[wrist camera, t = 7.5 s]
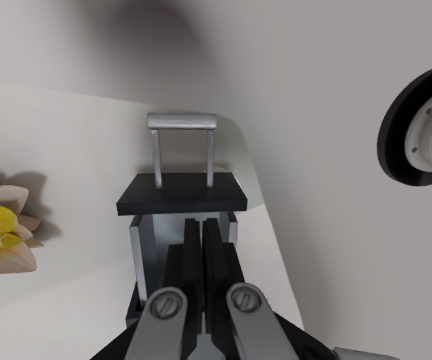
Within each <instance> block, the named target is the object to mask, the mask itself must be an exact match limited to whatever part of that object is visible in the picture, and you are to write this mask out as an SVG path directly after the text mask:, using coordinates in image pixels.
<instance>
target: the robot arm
mask: <svg viewBox="0 0 432 360" xmlns="http://www.w3.org/2000/svg"><path fill="white" fill-rule="evenodd" d="M403 150H404V155H405V157H406V159H407V161H408V162H409V164H410V165H411V166H413V167H414V168H416V169H419V170H422V171H427V172H432V96H431V97H430V98H429V99H427V100H426V101H425V102H424V103H423V104H422V105H421V106H420V107H419V109H418V110H417V111H416V113H415V114H414V115H413V117H412V118H411V120H410V122H409V124H408V126H407V129H406V132H405V136H404V141H403ZM203 297H204V313H205V329H206V334H211V343H214V346H215V347H216V348H217V349H218V350H220V351H221V352H222V360H400V359H398V358H395V357H392V356H387V355H380V354H375V353H368V352H363V351H357V350H350V349H345V348H338V347H335V348H334V350H330V349H328V348H327V347H326V346H325V345H324V344H322V343H321V342H319V341H318V340H316V339H315V338H313V337H312V336H310V335H309V334H307V333H306V332H304V331H303V330H301V329H300V328H298V327H297V326H295V325H294V324H292V323H291V322H289V321H288V320H286V319H284V318H283V317H281V316H280V315H278V314H277V313H275V312H274V311H272V309H271V307H270V305H269V303H268V301H267V300H266V298H265V296H264V294H263V293H262V292H261V290H260V289H259V288H257V287H256V286H254V285H252V284H250V283H245V280H244V277H243V273H242V270H241V266H240V263H239V260H238V256H237V253H236V250H235V246H234V243H233V242H222V238H221V233H220V229H219V224H218V220H217V218H207V219H206V221H203V223H202V252H201V236H200V221H195V218H185V226H184V244H169V247H168V253H167V260H166V266H165V272H164V279H163V285H162V288H161V289H159V290H157V291H155V292H154V293H153V294H152V295H151V296H150V297H149V299H148V301H147V302H146V305H145V307H144V310H143V313H142V315H141V317H140V318H139V319H138V320H137V321H136V322H134V323H133V324H132V325H131V326H130V327H128V328H127V329H126V330H125V331H124V332H122V333H121V334H120V335H119V336H118V337H116V338H115V339H114V340H113V341H111V342H110V343H109V344H108V345H107V346H105V347H104V348H103V349H102V350H101V351H99V352H98V353H97V354H96V355H95V356H93V357H92V358H91V359H90V360H188V357H189V356H190V355H191V353H192V352H193V351H194V350H195V349H196V347H197V335H201V334H202V308H203Z"/></svg>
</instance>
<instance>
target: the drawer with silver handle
mask: <svg viewBox="0 0 432 360" xmlns="http://www.w3.org/2000/svg"><path fill="white" fill-rule="evenodd" d="M147 124H148V128H149V129H152V130H151V134H152V146H153V158H154V170H155V173H144V174H137V175H136V177H135V178H134V179H133V181H132V182H131V184H130V185H129V186H128V188H127V189H126V191H125V192H124V193H123V195H122V196H121V198H120V199H119V200H118V202H117V203H116V205H117V211H118V216H124V215H135V216H134V218H133V220H132V223H131V225H130V227H129V229H130V236H131V243H132V250H133V257H134V264H135V271H136V278H137V285H138V292H139V299H140V306H141V311H143V310H144V307H145V305H146V302H147V301H148V299H149V297H150V296H151V295H152V294H153V293H154V292H155V291H157V290H159V289H161V288H162V285H163V279H164V272H165V266H166V260H167V253H168V247H169V244H184V226H185V218H195V221H200V236H201V252H202V223H203V221H206V219H207V218H217V220H218V224H219V229H220V233H221V238H222V242H233V243H234V246H235V250H236V240H237V226H238V222H237V219H236V217H235V214H234V212H233V211H247V198H246V196H245V194H244V193H243V191H242V189H241V188H240V186H239V184H238V183H237V181H236V179H235V178H234V176H233V174H232V172H214V173H213V162H214V130H216V129H217V115H216V114H190V113H148V114H147ZM159 129H177V130H207V173H162V168H161V153H160V139H159ZM203 305H204V297H203Z"/></svg>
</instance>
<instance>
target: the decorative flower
mask: <svg viewBox="0 0 432 360" xmlns="http://www.w3.org/2000/svg"><path fill="white" fill-rule="evenodd" d="M28 194H29V190H28V189H26V188H23V187H19V186H14V185H3V186H0V274H6V273H21V272H31V271H36V269H37V264H36V260H35V257H34V255H33V253H32V252H31V250H30V248H36V247H43V246H44V245H43V244H41V243H40V242H38V241H36V240H35V239H33V238H31V237H33V234H32V233H31V232H32V231H34V230H35V229H36V228H37V227H38V226H39V224H40V222H41V220H39V219H36V218H33V217H29V216H25V215H21V214H20V213H21V210H22V208H23V206H24V204H25V202H26V199H27V197H28Z"/></svg>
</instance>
